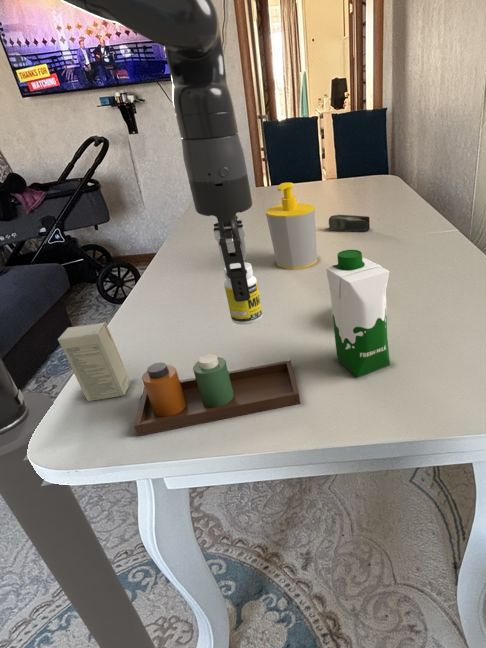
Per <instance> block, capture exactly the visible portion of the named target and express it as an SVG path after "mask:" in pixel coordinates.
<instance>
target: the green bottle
mask: <svg viewBox="0 0 486 648" xmlns="http://www.w3.org/2000/svg"><path fill="white" fill-rule="evenodd" d="M192 371H193V374H194V378H196V381H197V385H198V388H199V391H200V395H201V398H202V402H203V404H204V405H205V406H208V407H219V406H223V405H225V404H227V403H229V402H230V401H231V400H232V399H233V396H234V393H233V389H232V385H231V381H230V377H229V373H228V372H229V370H228V365H227V361H226V359H225V358H223V357H221V356H217V355H216V354H214V353H207V354H204V355H201V356H200V357H199V358H198V361H197V362H195V363H194V365H193V366H192Z"/></svg>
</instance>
